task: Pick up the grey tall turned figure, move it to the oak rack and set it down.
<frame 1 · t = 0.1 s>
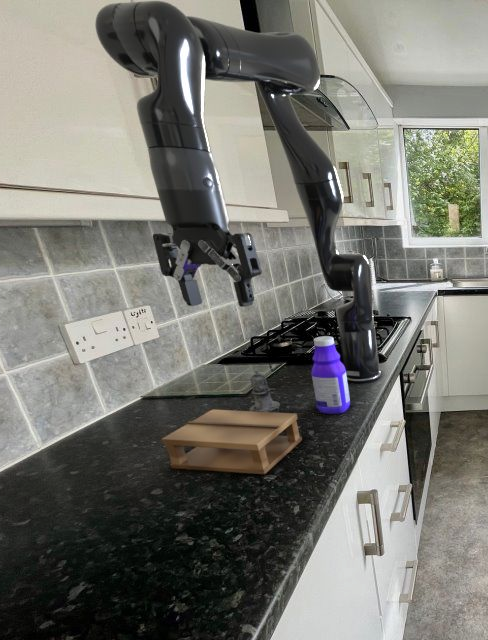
hand: (220, 305, 63), 29 cm above the worktop, tool pointing down, fingers open, 8 cm apart
grey tall turned figure: (268, 422, 90), on the worktop
oak rack: (240, 453, 78), on the worktop
bottle: (335, 410, 95), on the worktop
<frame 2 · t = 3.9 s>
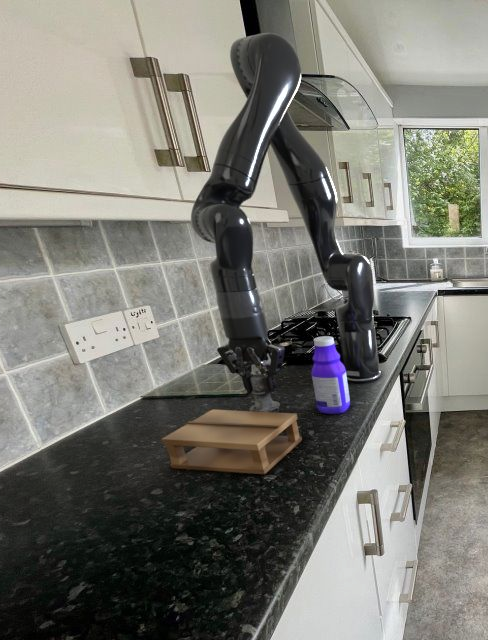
hand: (261, 391, 87), 7 cm above the worktop, tool pointing down, fingers closed on grey tall turned figure, 3 cm apart
grey tall turned figure: (268, 422, 90), on the worktop, touching gripper
everything else where it was.
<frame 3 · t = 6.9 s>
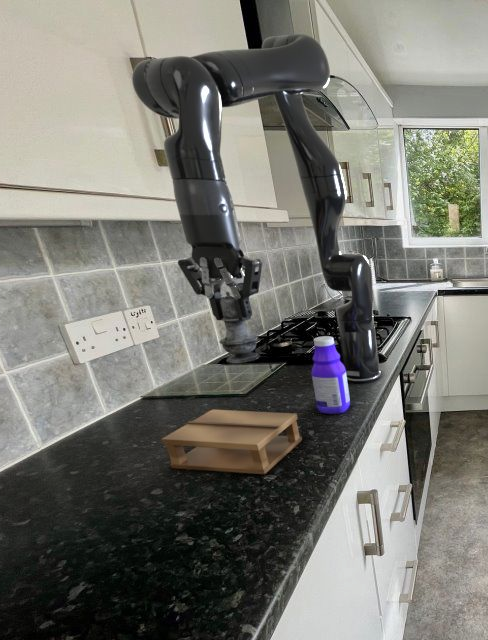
hand: (233, 319, 71), 25 cm above the worktop, tool pointing down, fingers closed on grey tall turned figure, 3 cm apart
grey tall turned figure: (243, 359, 74), point 18 cm above the worktop, touching gripper
everything else where it was.
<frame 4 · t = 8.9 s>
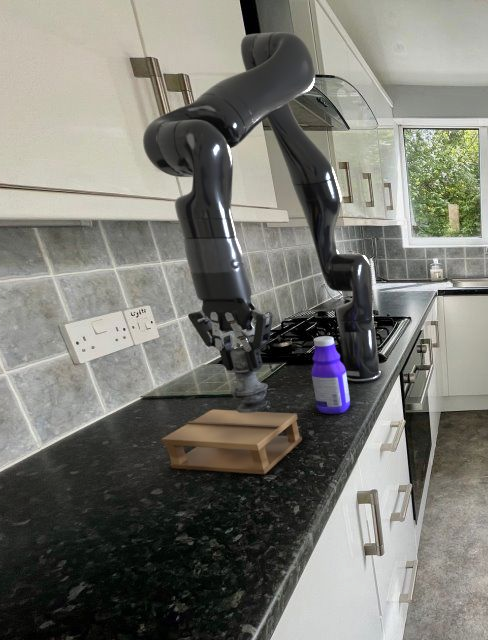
hand: (244, 369, 71), 17 cm above the worktop, tool pointing down, fingers closed on grey tall turned figure, 3 cm apart
grey tall turned figure: (253, 407, 74), point 10 cm above the worktop, touching gripper
everything else where it was.
when the fingers open (14 cm above the worktop, at t = 10.2 s): grey tall turned figure stays where it is, resting on oak rack.
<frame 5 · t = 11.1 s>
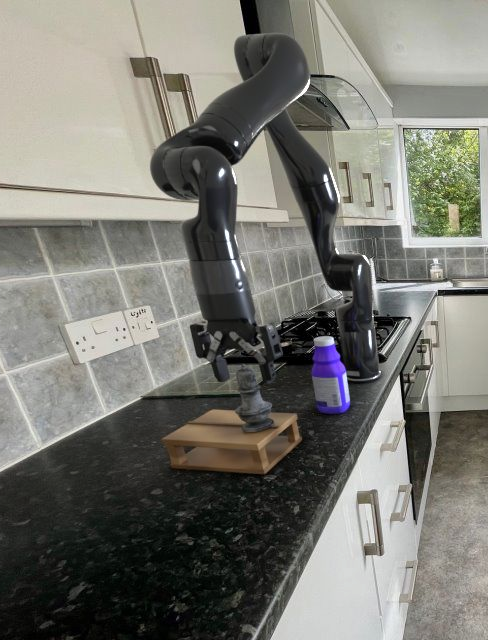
hand: (246, 381, 72), 15 cm above the worktop, tool pointing down, fingers open, 8 cm apart
grey tall turned figure: (258, 426, 75), point 6 cm above the worktop, touching oak rack
everything else where it was.
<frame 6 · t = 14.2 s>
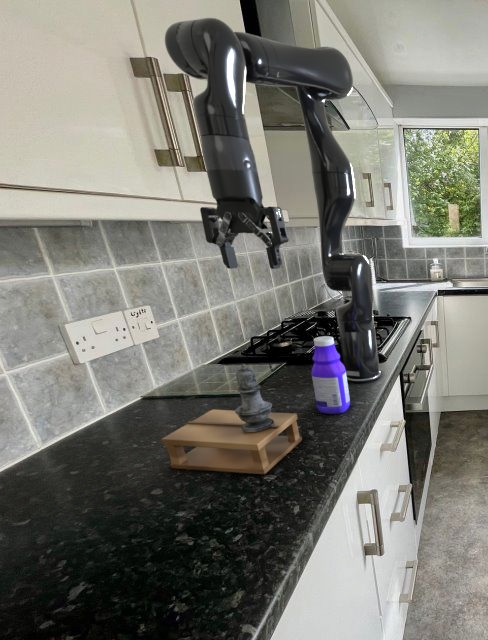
hand: (253, 268, 75), 33 cm above the worktop, tool pointing down, fingers open, 8 cm apart
nothing on the worktop moved.
at the end: grey tall turned figure inside the target area (0.1 cm from its centre), point 6.1 cm above the worktop; grey tall turned figure tilted 0°; the gripper is holding nothing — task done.
